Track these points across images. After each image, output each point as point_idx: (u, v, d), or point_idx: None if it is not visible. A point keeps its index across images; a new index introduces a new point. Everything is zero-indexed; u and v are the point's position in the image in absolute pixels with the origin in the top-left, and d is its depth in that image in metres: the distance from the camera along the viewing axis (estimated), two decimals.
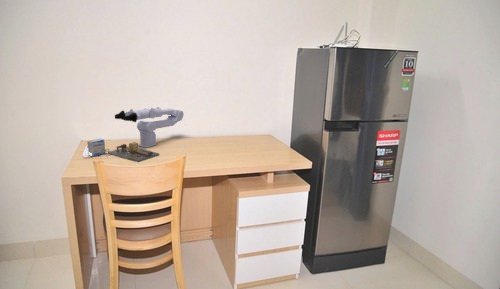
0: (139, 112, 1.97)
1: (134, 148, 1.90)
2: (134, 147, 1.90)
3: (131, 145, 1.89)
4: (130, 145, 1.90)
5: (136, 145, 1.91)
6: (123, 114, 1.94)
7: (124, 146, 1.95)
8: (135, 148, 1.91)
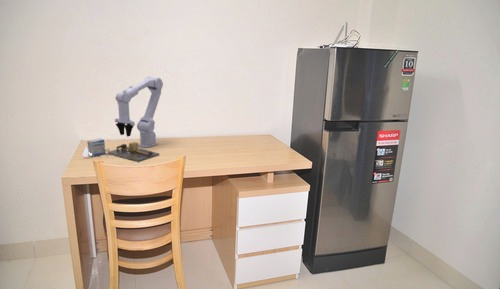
0: (123, 114, 1.87)
1: (134, 148, 1.90)
2: (134, 147, 1.90)
3: (131, 145, 1.89)
4: (130, 145, 1.90)
5: (136, 145, 1.91)
6: (120, 125, 1.92)
7: (124, 146, 1.95)
8: (135, 148, 1.91)
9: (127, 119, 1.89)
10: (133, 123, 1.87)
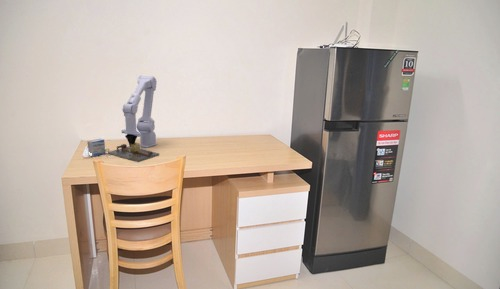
0: (130, 126, 1.86)
1: (136, 148, 1.90)
2: (136, 147, 1.90)
3: (133, 145, 1.89)
4: (132, 145, 1.89)
5: (138, 145, 1.91)
6: None
7: (124, 146, 1.95)
8: (137, 148, 1.90)
9: (134, 130, 1.88)
10: (140, 134, 1.87)
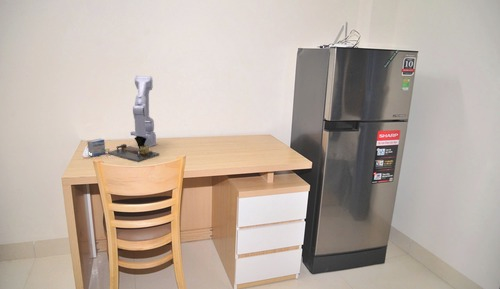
0: (140, 128, 1.83)
1: (145, 151, 1.86)
2: (145, 150, 1.86)
3: (142, 148, 1.85)
4: (141, 148, 1.85)
5: (147, 148, 1.87)
6: None
7: (124, 146, 1.95)
8: (146, 150, 1.87)
9: (143, 132, 1.85)
10: (149, 137, 1.83)
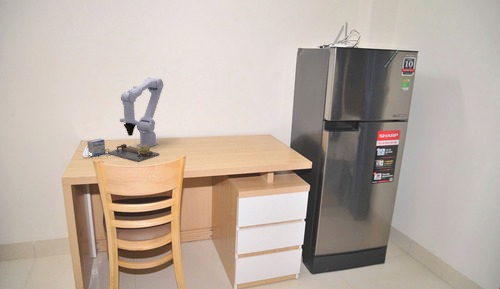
0: (129, 114, 1.88)
1: (145, 151, 1.86)
2: (145, 150, 1.86)
3: (142, 148, 1.85)
4: (141, 148, 1.85)
5: (147, 148, 1.87)
6: None
7: (124, 146, 1.95)
8: (146, 150, 1.87)
9: (132, 119, 1.90)
10: (138, 123, 1.88)
